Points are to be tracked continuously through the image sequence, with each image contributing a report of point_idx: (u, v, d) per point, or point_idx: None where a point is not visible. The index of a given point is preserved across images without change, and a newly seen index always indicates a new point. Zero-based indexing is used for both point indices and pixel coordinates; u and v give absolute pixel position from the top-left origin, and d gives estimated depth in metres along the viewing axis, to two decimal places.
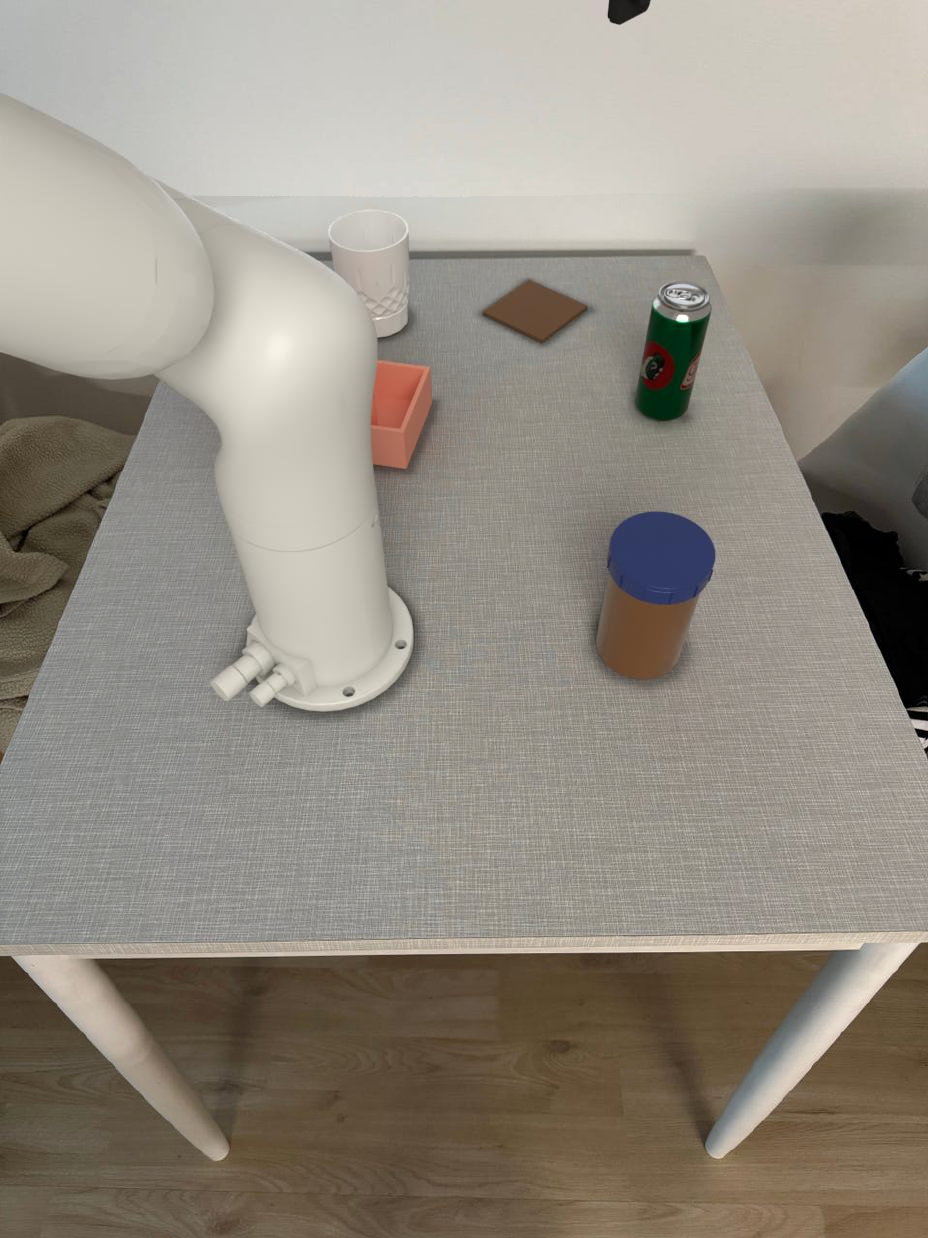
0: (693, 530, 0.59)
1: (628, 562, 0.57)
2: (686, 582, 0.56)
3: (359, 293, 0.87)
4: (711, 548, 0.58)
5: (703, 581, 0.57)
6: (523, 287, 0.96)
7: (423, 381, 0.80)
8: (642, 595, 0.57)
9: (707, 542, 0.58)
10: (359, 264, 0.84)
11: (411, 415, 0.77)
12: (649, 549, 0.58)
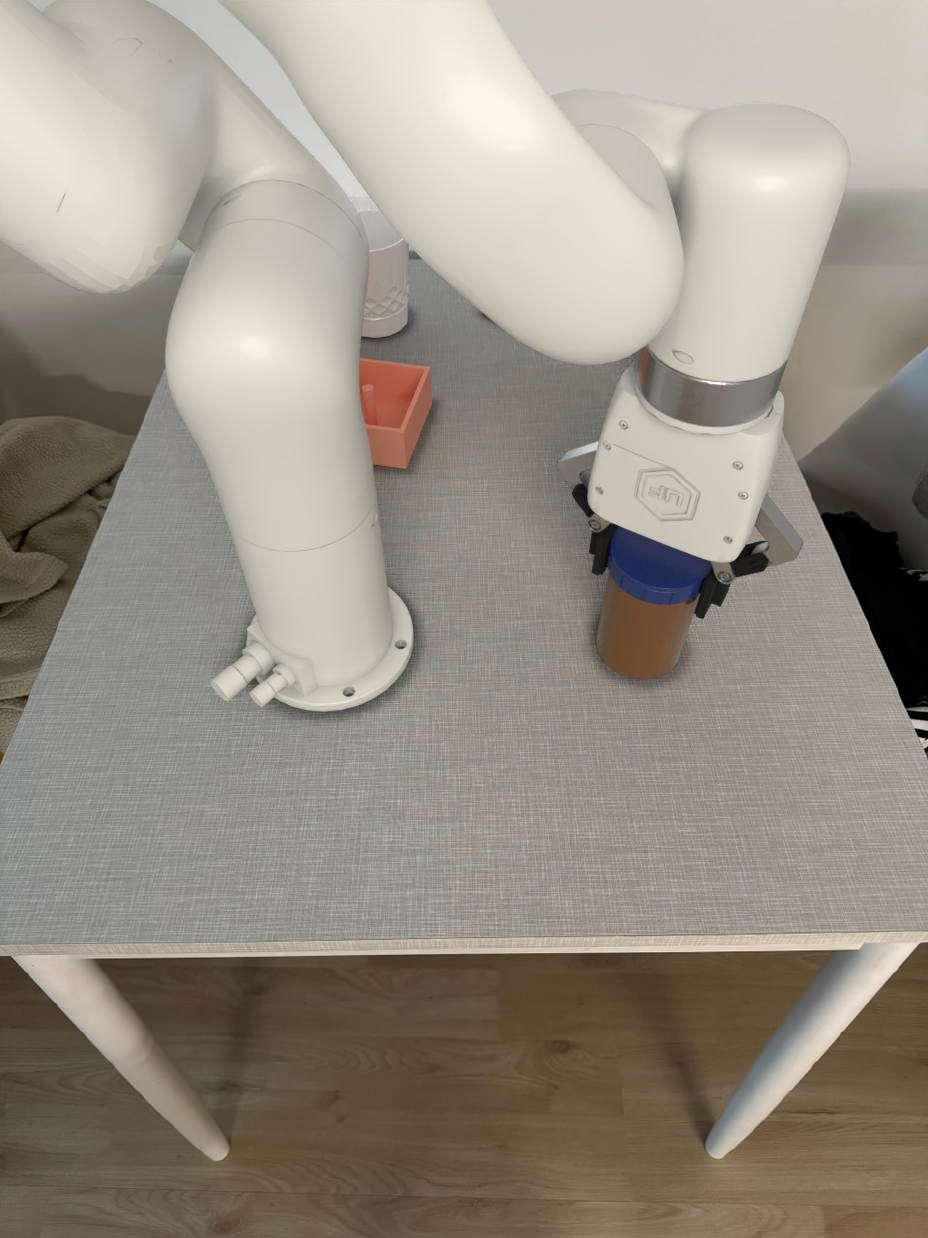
0: None
1: (628, 562, 0.57)
2: (686, 582, 0.56)
3: None
4: None
5: (703, 581, 0.57)
6: None
7: (423, 381, 0.80)
8: (642, 595, 0.57)
9: None
10: None
11: (411, 415, 0.77)
12: (649, 549, 0.58)
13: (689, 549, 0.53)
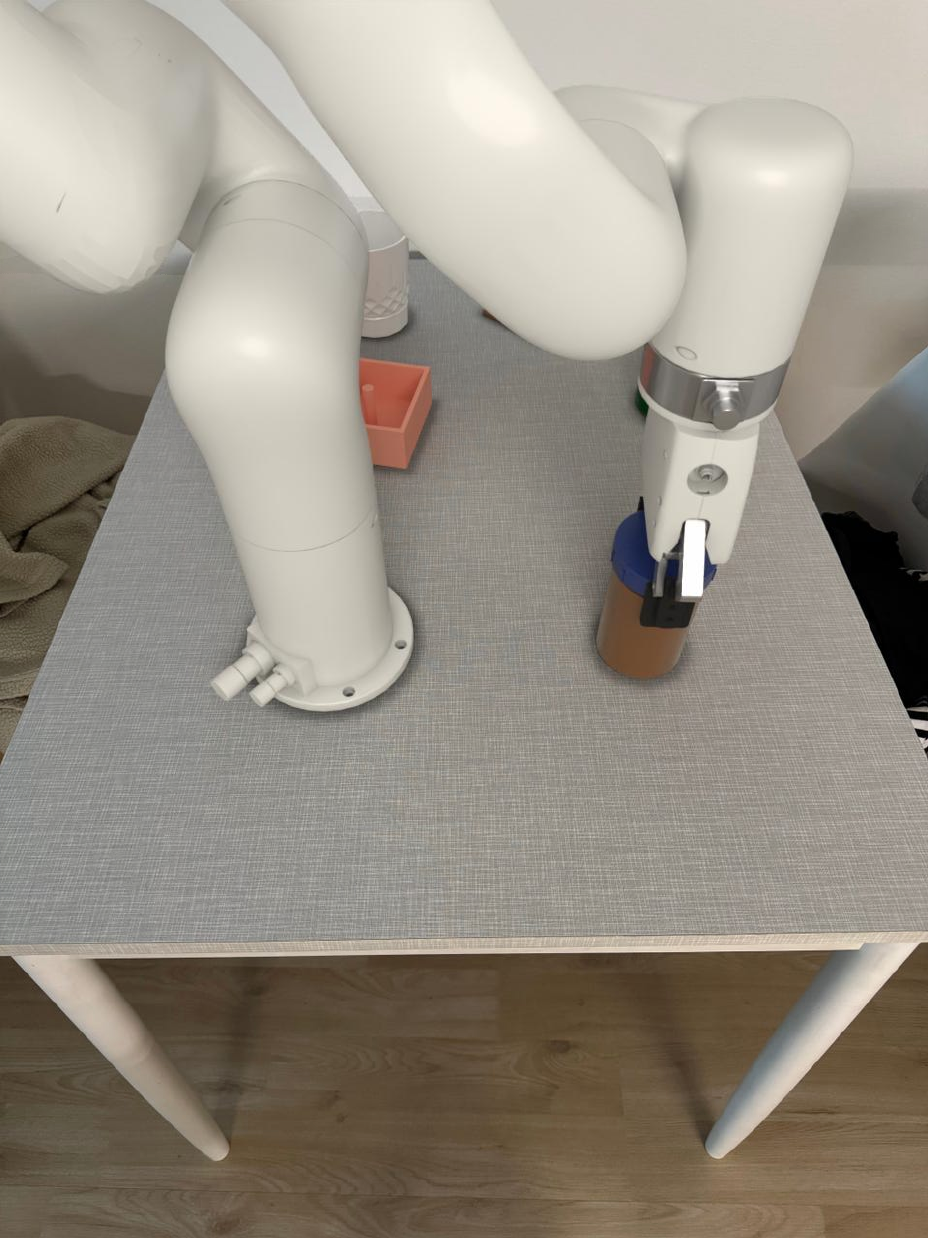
0: (627, 529, 0.59)
1: (704, 562, 0.57)
2: None
3: None
4: (640, 512, 0.60)
5: None
6: None
7: (423, 381, 0.80)
8: None
9: (634, 517, 0.59)
10: None
11: (411, 415, 0.77)
12: None
13: None
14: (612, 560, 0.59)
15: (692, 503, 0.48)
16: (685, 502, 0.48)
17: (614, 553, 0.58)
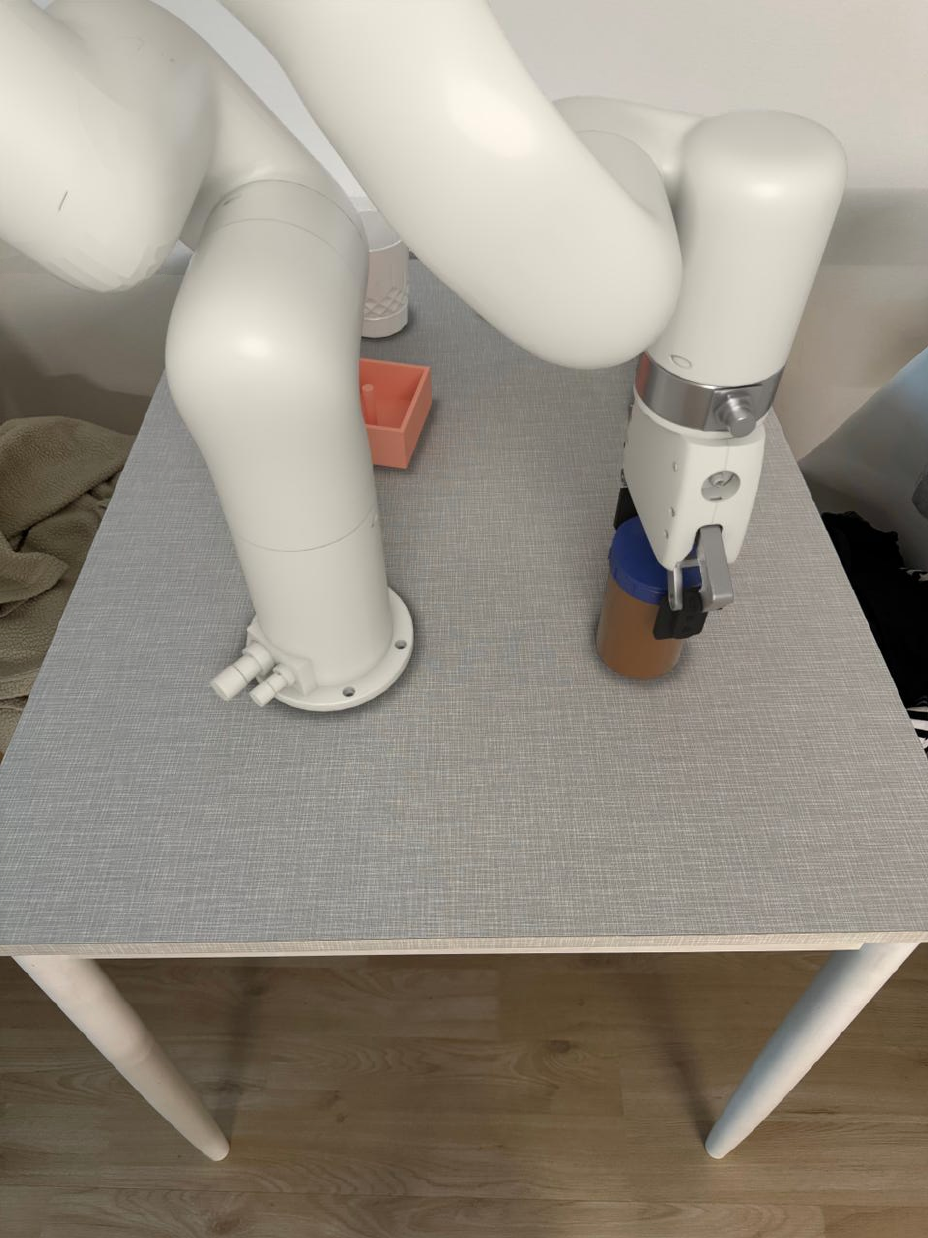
0: (621, 544, 0.59)
1: None
2: None
3: None
4: (626, 524, 0.60)
5: None
6: None
7: (423, 381, 0.80)
8: None
9: (623, 530, 0.59)
10: None
11: (411, 415, 0.77)
12: None
13: None
14: (615, 578, 0.58)
15: (706, 510, 0.48)
16: (699, 510, 0.48)
17: (617, 571, 0.58)
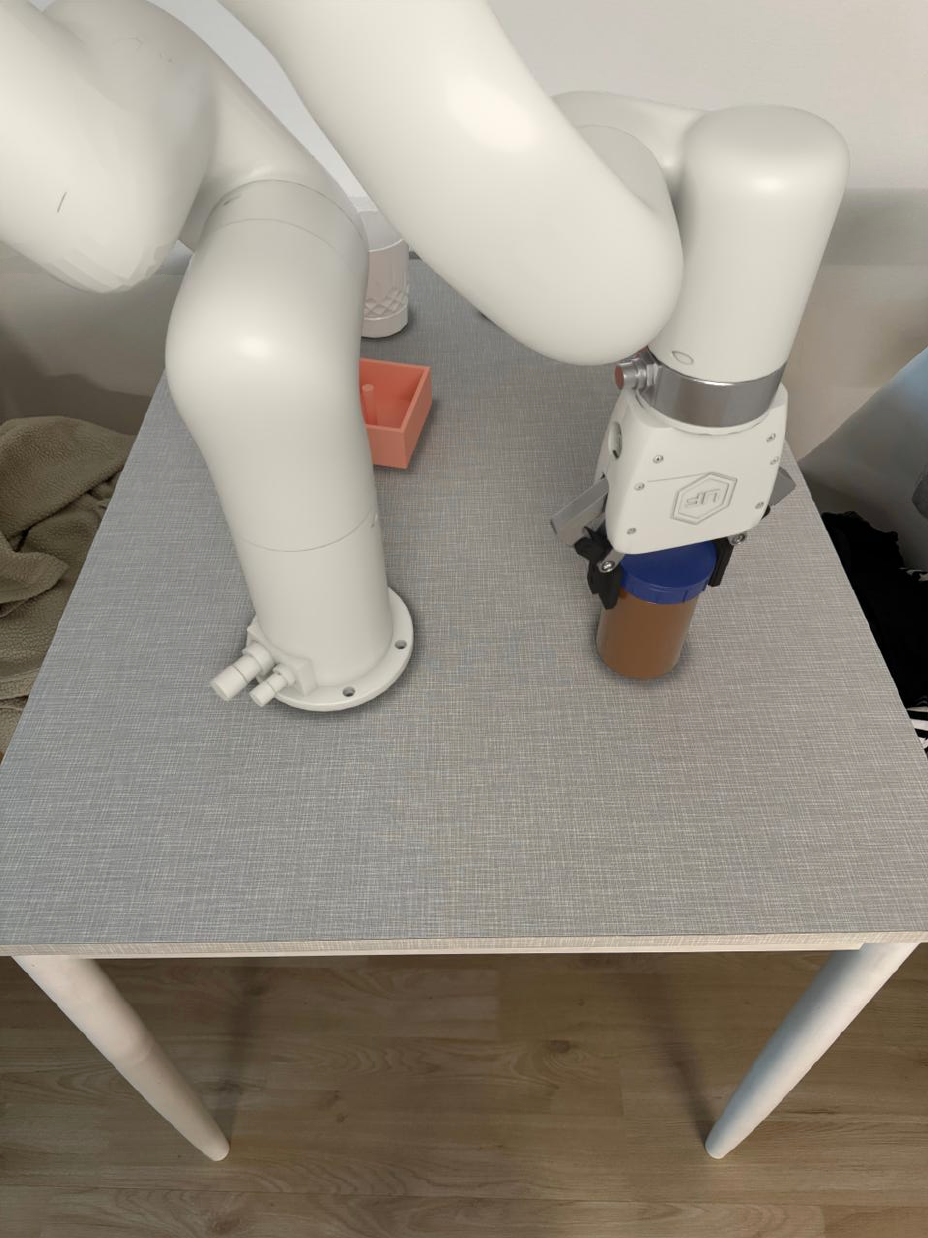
0: None
1: (704, 558, 0.58)
2: None
3: None
4: None
5: None
6: None
7: (423, 381, 0.80)
8: None
9: None
10: None
11: (411, 415, 0.77)
12: (675, 554, 0.58)
13: (724, 533, 0.54)
14: None
15: (606, 456, 0.51)
16: (605, 452, 0.51)
17: None
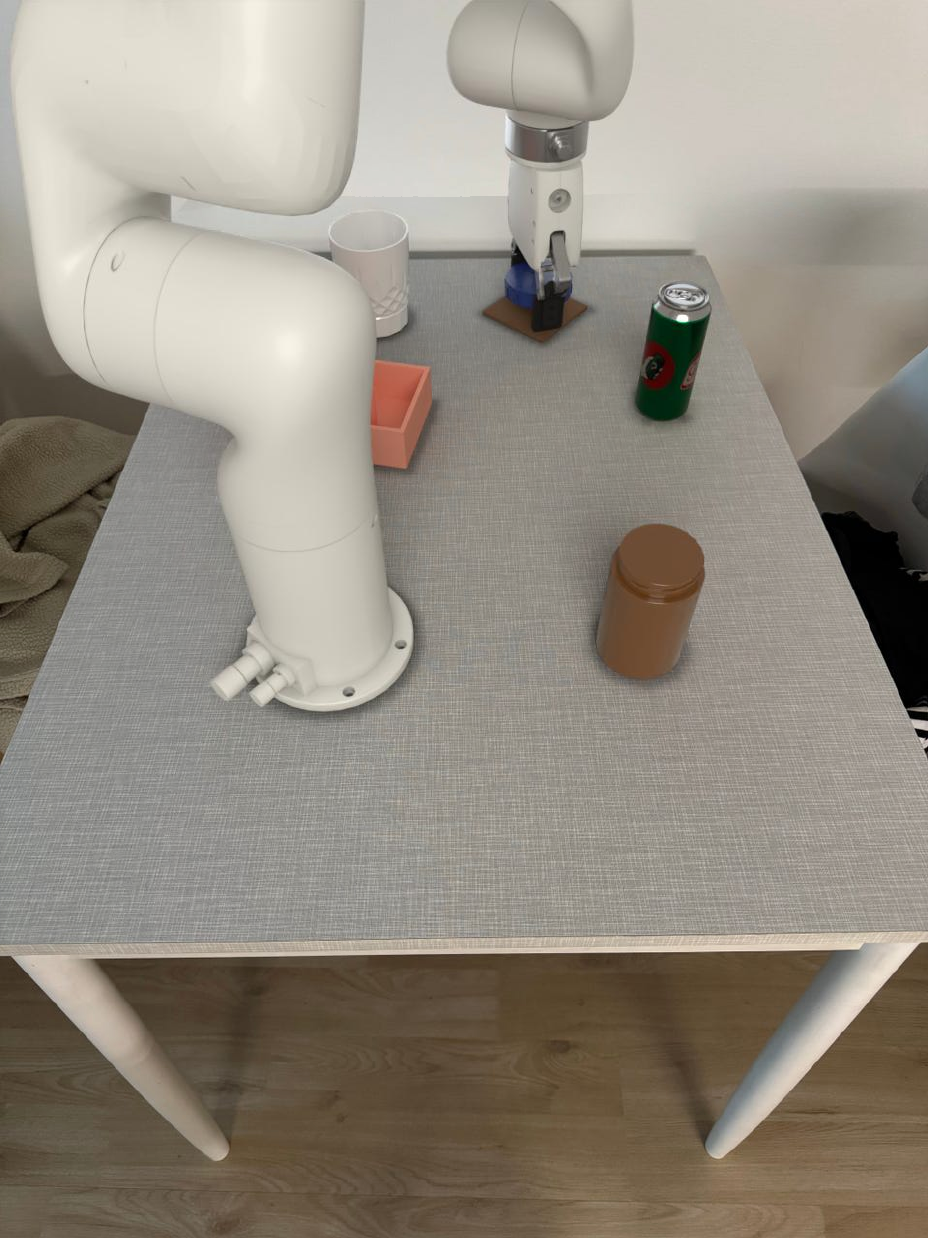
0: (535, 290, 0.89)
1: (545, 263, 0.92)
2: (510, 270, 0.92)
3: None
4: (517, 287, 0.89)
5: (505, 279, 0.91)
6: None
7: (423, 381, 0.80)
8: None
9: (522, 289, 0.89)
10: (359, 264, 0.84)
11: (411, 415, 0.77)
12: None
13: None
14: None
15: (553, 219, 0.81)
16: (549, 219, 0.81)
17: None
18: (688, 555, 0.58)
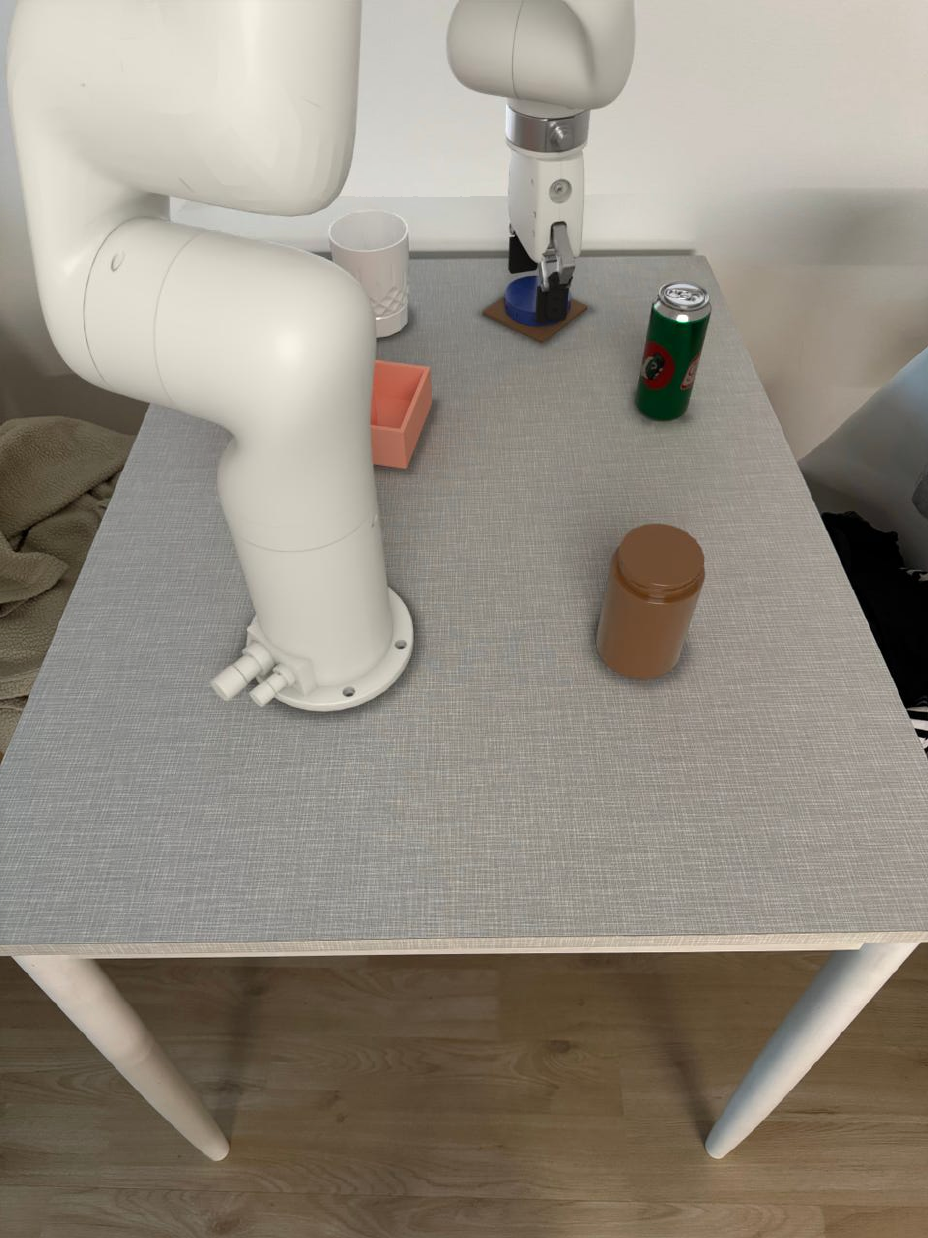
0: (534, 308, 0.91)
1: None
2: (510, 286, 0.93)
3: None
4: (516, 305, 0.91)
5: (504, 295, 0.93)
6: None
7: (423, 381, 0.80)
8: None
9: (521, 307, 0.91)
10: (359, 264, 0.84)
11: (411, 415, 0.77)
12: None
13: None
14: None
15: (554, 210, 0.80)
16: (550, 210, 0.80)
17: None
18: (688, 555, 0.58)
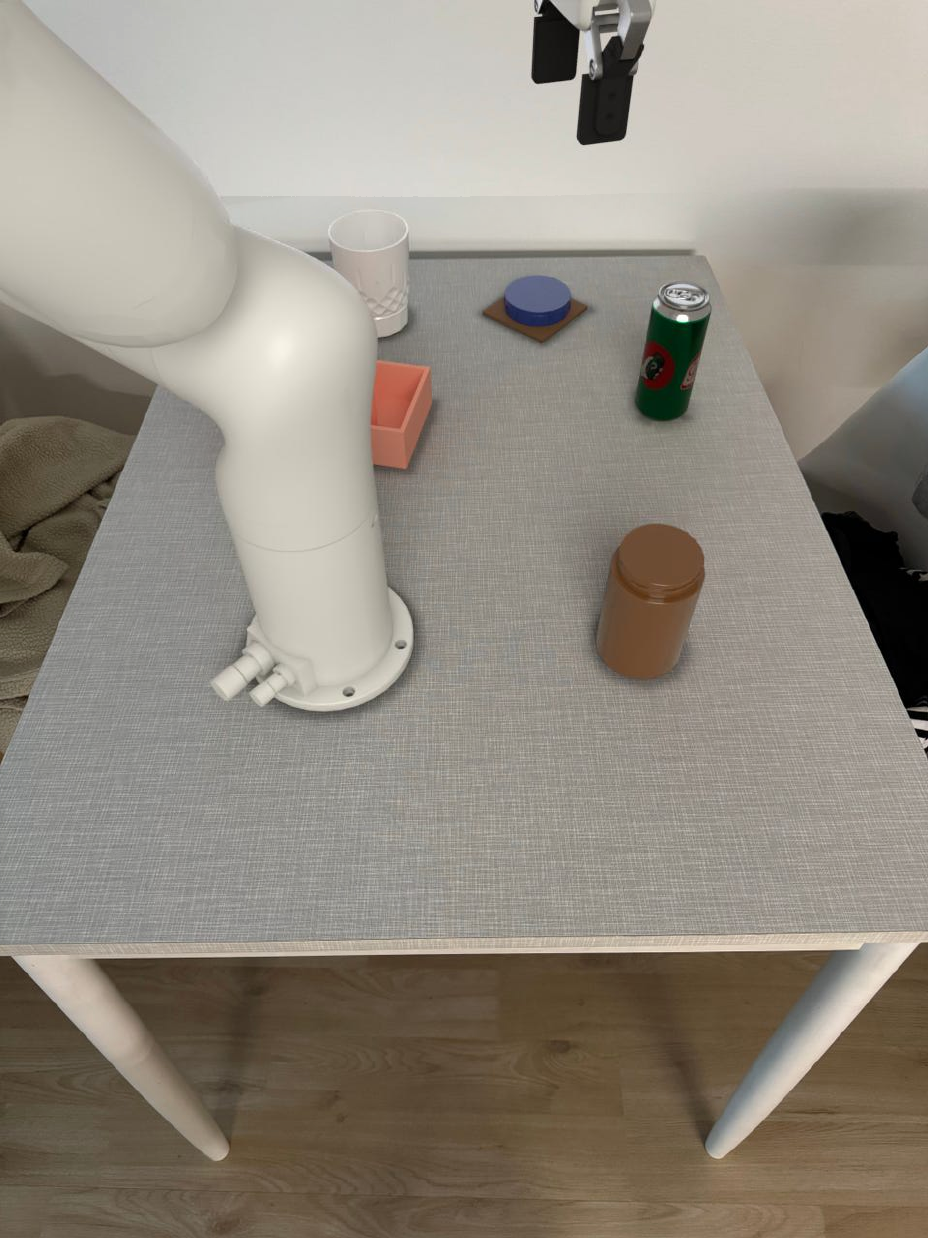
0: (534, 308, 0.91)
1: (544, 279, 0.94)
2: (510, 286, 0.93)
3: None
4: (516, 305, 0.91)
5: (504, 295, 0.93)
6: None
7: (423, 381, 0.80)
8: None
9: (521, 307, 0.91)
10: (359, 264, 0.84)
11: (411, 415, 0.77)
12: (542, 289, 0.93)
13: None
14: (551, 321, 0.91)
15: None
16: None
17: (552, 315, 0.91)
18: (688, 555, 0.58)
